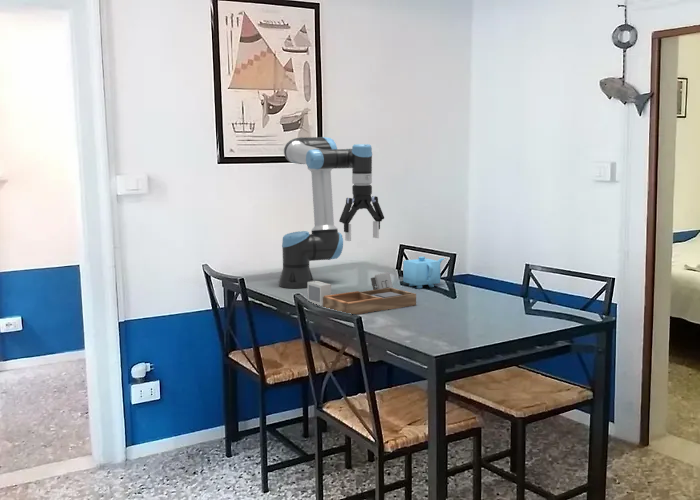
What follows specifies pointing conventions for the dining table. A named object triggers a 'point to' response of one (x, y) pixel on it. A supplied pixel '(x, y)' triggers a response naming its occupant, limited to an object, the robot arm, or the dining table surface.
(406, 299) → the wooden compartment tray
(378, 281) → the electrical switch
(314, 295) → the white block
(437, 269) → the teapot
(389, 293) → the grey module
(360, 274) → the dining table surface
